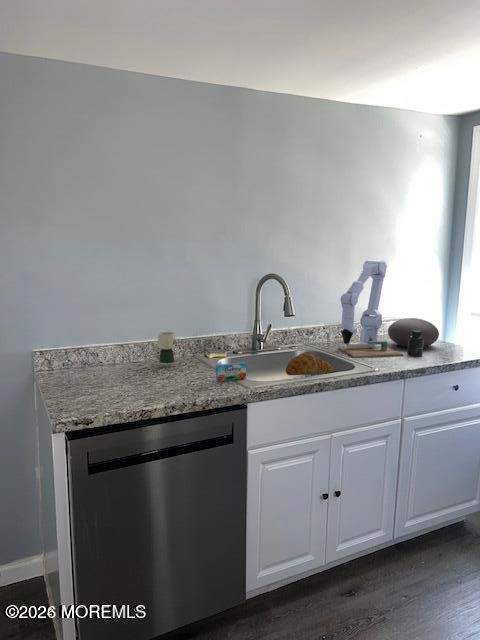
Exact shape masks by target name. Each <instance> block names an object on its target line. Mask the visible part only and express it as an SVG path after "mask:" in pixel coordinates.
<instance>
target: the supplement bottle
mask: <svg viewBox="0 0 480 640" xmlns="http://www.w3.org/2000/svg"><path fill="white" fill-rule="evenodd" d="M411 335H412V336H410V337H409V340H408V347H407V353H406V354H407V356H409V357H414V358H421V357H423V353H424V347H423V345H424V338H423V337H422V331H418V330H412V332H411Z"/></svg>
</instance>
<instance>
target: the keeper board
mask: <svg viewBox="0 0 480 640" xmlns="http://www.w3.org/2000/svg"><path fill="white" fill-rule="evenodd" d="M368 344H370V345H374V344H377V345H380V346H374V348H362V349H345V348H344V346H338V350H339V351H341V352H343V353H344V354H346V355H348V356H350V357H351V358H355V359H358V358H359V359H360V358H361V359H362V358H363V359H364V358H391V357H404V353H401V352H400V351H397V350H395V349H393V348H391V347H388V341H386V340H377V341H368Z"/></svg>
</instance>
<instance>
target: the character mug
mask: <svg viewBox="0 0 480 640" xmlns="http://www.w3.org/2000/svg"><path fill="white" fill-rule="evenodd" d="M157 339H158V344H157V346H158V349H160V353H159V361H158V362H159V364H167V365H168V364H173V363H175V355H174V351H173V349H175V348H176V333H175V332H173V331H161V332H158V333H157Z"/></svg>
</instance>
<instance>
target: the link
mask: <svg viewBox="0 0 480 640" xmlns="http://www.w3.org/2000/svg"><path fill="white" fill-rule="evenodd" d="M369 341H372V337H369ZM343 345H344V346H343V347H344V348H345V349H362V348H374V345H370V344H368V342H366V343H358V342H349V343H344V342H343Z"/></svg>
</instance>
